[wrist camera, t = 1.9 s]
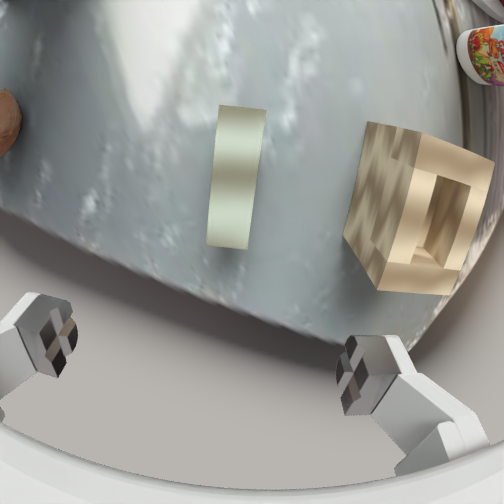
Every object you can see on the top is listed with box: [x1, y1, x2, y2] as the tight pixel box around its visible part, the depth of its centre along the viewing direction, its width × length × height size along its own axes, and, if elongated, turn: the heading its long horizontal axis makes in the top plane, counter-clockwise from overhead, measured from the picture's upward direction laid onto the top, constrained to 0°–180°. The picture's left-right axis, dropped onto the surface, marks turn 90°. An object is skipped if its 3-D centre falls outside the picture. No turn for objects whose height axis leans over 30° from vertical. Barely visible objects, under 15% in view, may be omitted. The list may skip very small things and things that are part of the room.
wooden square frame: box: [343, 122, 495, 295], centre depth 28 cm, size 14×9×12 cm, turn 173°
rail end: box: [206, 105, 266, 250], centre depth 28 cm, size 12×4×9 cm, turn 173°
